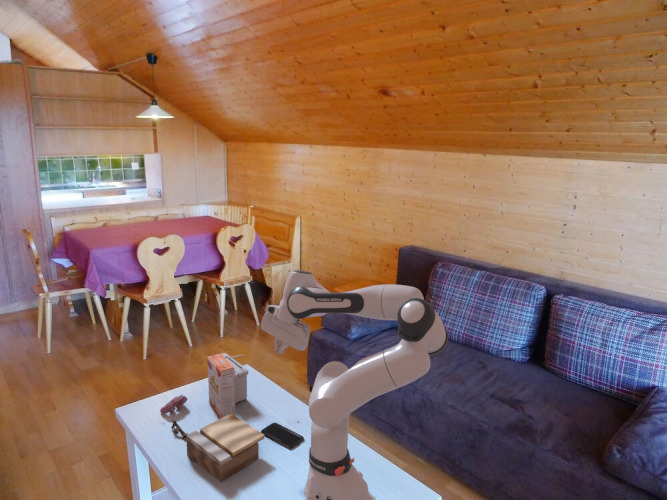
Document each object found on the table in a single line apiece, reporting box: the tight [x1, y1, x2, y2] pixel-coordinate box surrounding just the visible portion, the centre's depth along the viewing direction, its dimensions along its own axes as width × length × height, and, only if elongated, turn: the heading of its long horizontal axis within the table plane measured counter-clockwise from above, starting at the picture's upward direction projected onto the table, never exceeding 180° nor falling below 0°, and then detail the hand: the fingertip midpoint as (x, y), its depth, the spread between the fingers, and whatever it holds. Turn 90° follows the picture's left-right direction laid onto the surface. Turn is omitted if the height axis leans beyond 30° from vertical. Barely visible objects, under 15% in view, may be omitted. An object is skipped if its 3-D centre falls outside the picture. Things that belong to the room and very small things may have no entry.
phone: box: [260, 422, 305, 450], centre depth 174 cm, size 8×1×15 cm
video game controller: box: [159, 394, 188, 415], centre depth 187 cm, size 10×5×7 cm, turn 149°
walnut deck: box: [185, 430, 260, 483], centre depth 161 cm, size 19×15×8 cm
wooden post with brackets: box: [171, 419, 189, 439], centre depth 174 cm, size 2×8×4 cm, turn 53°
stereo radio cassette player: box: [221, 352, 249, 404], centre depth 200 cm, size 21×8×20 cm, turn 40°
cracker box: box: [206, 352, 236, 419], centre depth 186 cm, size 14×6×21 cm, turn 33°
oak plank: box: [199, 414, 265, 457], centre depth 164 cm, size 18×13×2 cm
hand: (278, 351), depth 169 cm, fingers closed
